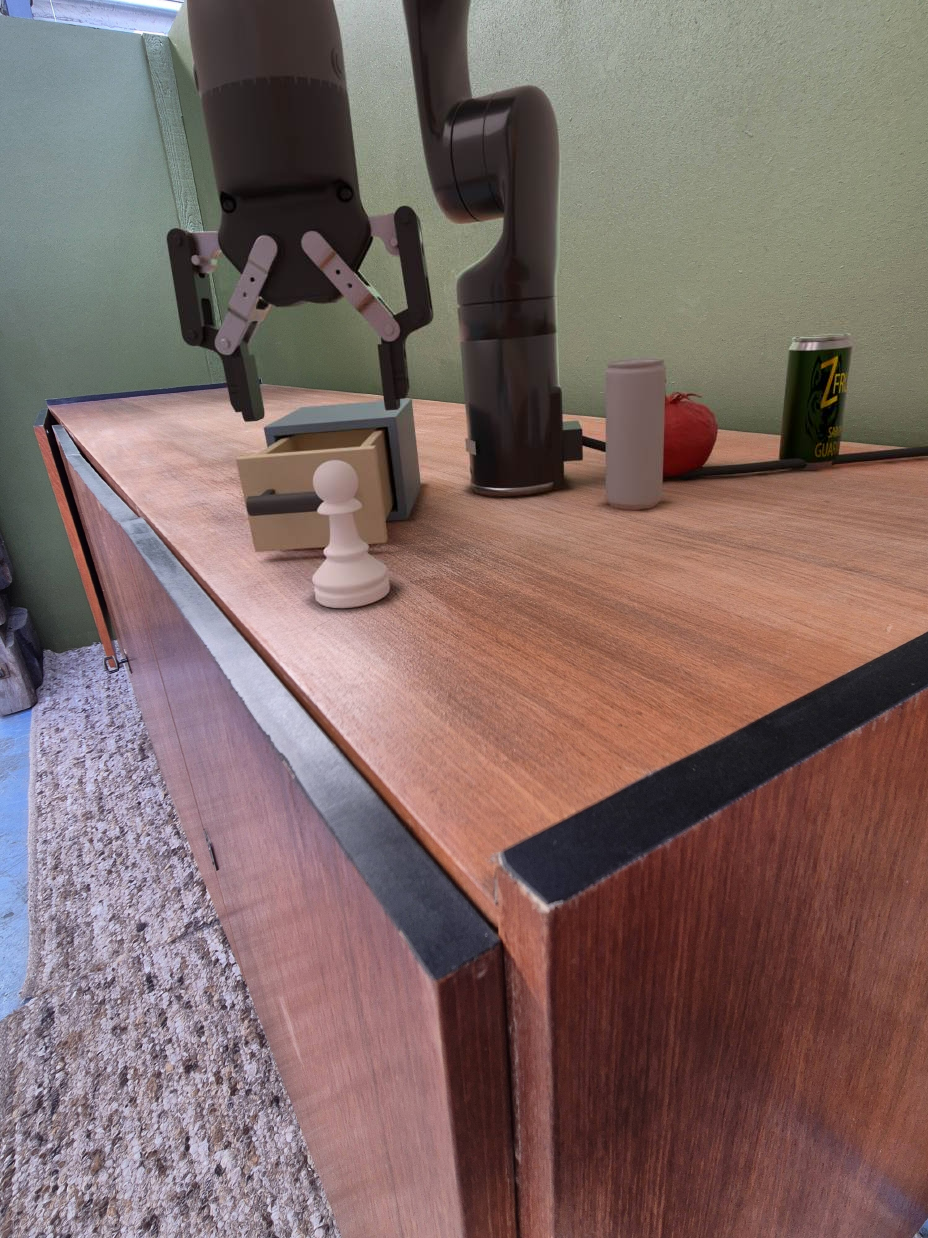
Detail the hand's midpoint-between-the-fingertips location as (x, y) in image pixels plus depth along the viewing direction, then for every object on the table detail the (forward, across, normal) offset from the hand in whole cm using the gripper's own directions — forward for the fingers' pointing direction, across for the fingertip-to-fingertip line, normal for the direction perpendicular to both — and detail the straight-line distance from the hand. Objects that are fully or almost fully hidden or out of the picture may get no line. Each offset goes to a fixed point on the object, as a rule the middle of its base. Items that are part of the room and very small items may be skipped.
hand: (323, 414), depth 43 cm
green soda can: (+12, -41, -28) cm, 51 cm away
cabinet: (+12, +4, -25) cm, 28 cm away
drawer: (+11, +4, -13) cm, 17 cm away
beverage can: (+12, -22, -18) cm, 31 cm away
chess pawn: (+12, 0, 0) cm, 12 cm away
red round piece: (+12, -27, -29) cm, 42 cm away
